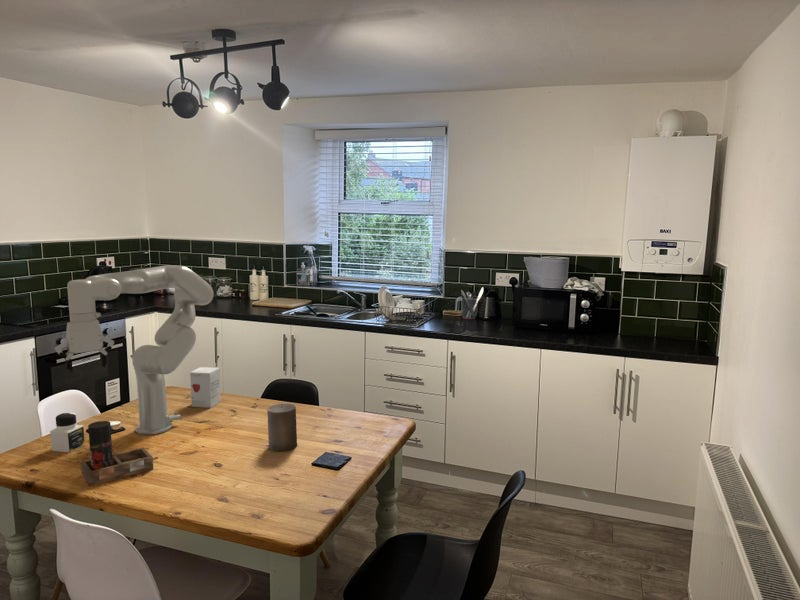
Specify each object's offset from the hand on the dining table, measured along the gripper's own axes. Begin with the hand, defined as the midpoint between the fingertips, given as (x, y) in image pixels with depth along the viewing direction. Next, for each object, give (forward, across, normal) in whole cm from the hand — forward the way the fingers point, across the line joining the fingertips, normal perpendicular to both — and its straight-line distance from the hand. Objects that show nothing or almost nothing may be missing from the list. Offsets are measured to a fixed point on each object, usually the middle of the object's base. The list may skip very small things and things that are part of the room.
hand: (87, 368), depth 190 cm
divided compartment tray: (+28, -2, +23) cm, 37 cm away
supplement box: (+29, -48, -24) cm, 61 cm away
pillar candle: (+28, -51, +37) cm, 69 cm away
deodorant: (+27, +2, +23) cm, 36 cm away
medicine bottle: (+28, +6, -8) cm, 30 cm away
